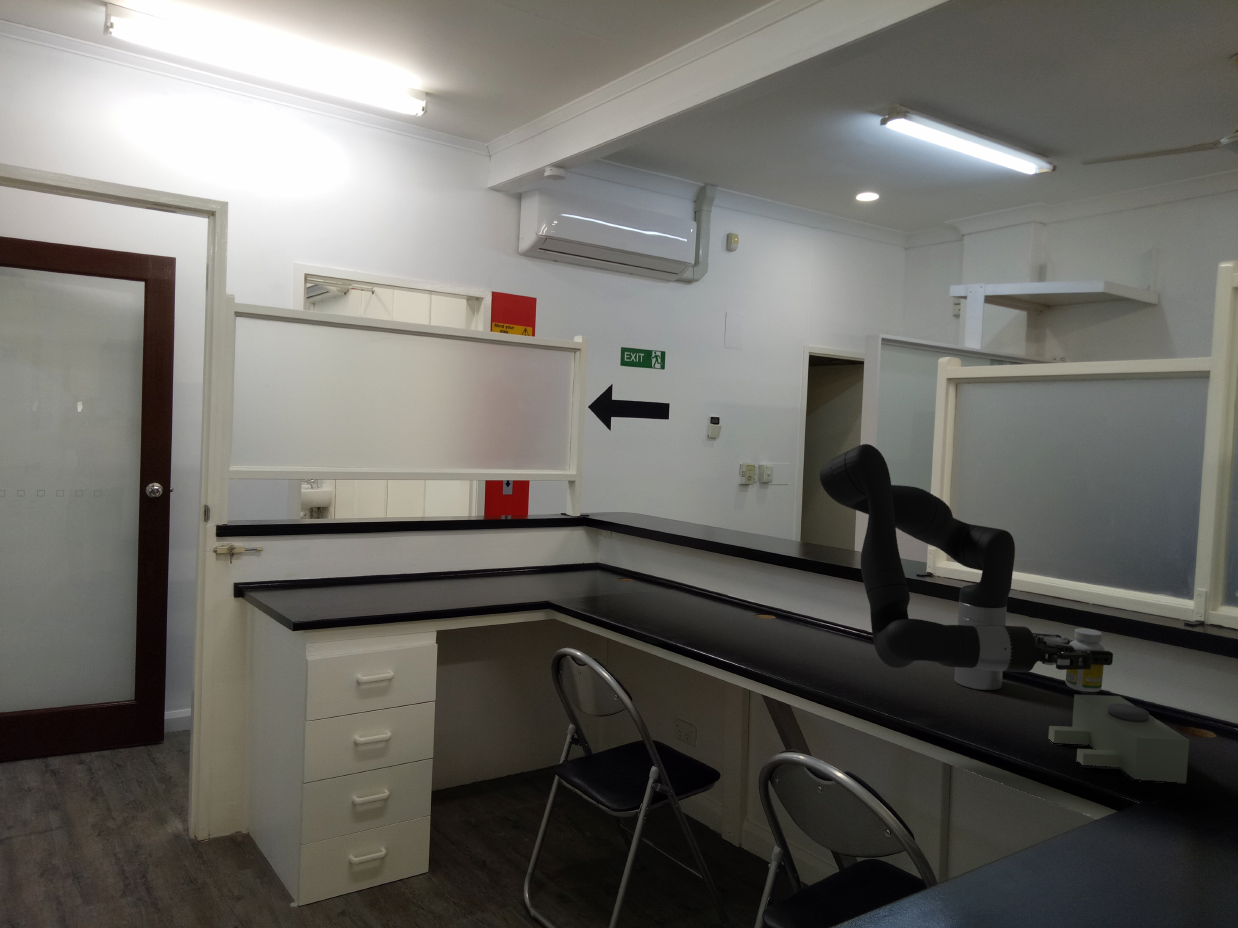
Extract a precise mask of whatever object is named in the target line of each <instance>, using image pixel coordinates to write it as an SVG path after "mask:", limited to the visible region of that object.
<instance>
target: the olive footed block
mask: <svg viewBox="0 0 1238 928" xmlns="http://www.w3.org/2000/svg"><path fill="white" fill-rule="evenodd" d="M1071 725H1072V726H1060V725H1049V727H1048V738H1047V739H1050V740H1051V741H1052V742H1054V743H1066V744H1068V743H1069V744H1086V745H1088V744H1089V745H1090V746H1091V747H1093V748H1094V749H1092V748H1091V747H1090V746H1089V747H1090V748H1077V750H1076V762H1077V761H1078V762H1080V763H1081V764H1082V765H1093V766H1095V765H1096V766H1108V767H1109V766H1111V767H1121V768H1122V769H1123V770H1124V771H1125V772H1127V774H1129V775H1130V776H1131V777H1133V778H1134V779H1141V780H1155V781H1167V782H1177V783H1176V784H1187V777H1188V776H1187V774H1188V764H1189V750H1190V739H1189V738H1187V737H1185V736H1183V734H1180V733H1179V732H1178V731H1176V730H1175V729H1172V728H1171V727H1170V726H1168V725H1166V724H1165V723H1163V722H1162V721H1160V720H1159V719H1156V718H1155V717H1154V716H1152V715H1150V712H1149V711H1148V710H1146V709H1145V708H1142V707H1139V706H1136V705H1134V704H1133V703H1131V702H1130V701H1128V700H1126V699H1125V698H1123V697H1122V696H1120V695H1102V694H1101V695H1099V694H1097V695H1094V694H1074V697H1073V711H1072V724H1071ZM1051 741H1050V742H1051ZM1052 742H1051V743H1052ZM1086 745H1085V746H1086ZM1095 749H1096V750H1095Z"/></svg>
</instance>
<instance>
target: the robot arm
mask: <svg viewBox="0 0 1238 928" xmlns="http://www.w3.org/2000/svg"><path fill="white" fill-rule="evenodd" d="M819 471H820V472H819V482H820V484H821V485H820V486H822V489H823V490H824V492H825V493H826V494H827V495H828V496H829V497H830V498H831V499H832V500H833V501H835V502H837V503H838V504H839V505H841V506H844V507H846V508H849V509H851V510H855V511H858V512H860V513H862V514H865V515H868V518H867V519H868V520H867V526H866V530H865V536H864V539H863V543H862V548H861V552H860V553H861V554H860V570H861V571H860V572H861V577H862V581H863V584H864V590H865V592H866V597H867V600H868V603H869V610H870V624H871V635H872V636H871V637H872V641H873V646H874V648H875V651H876V652H875V653H877V656H878V657H879V659H880V660H881V661H882V662H883V663H884V664H885V665H887V666H889V667H891V668H893V669H897V668H898V669H901V668H906V667H907V666H909V665H911V664H913V663H914V662H917V661H924V662H936V663H939V664H940V665H941V666H945V667H948V668H954V681H955V682H956V683H957V684H959V685H960V686H963V687H966V688H970V689H974V690H981V691H994V690H995V691H997V690H1000V689H1001V688H1002V687H1003V686H1002V685H1003V672H1016V673H1029V672H1031V671H1032V670H1033V669H1034V666H1035V665H1036V664H1037V663H1038V662H1040V663H1041V664H1043V665H1046V666H1054V665H1055V669H1056V670H1058V671H1059V670H1060V671H1062V670H1063V671H1064V670H1065V671H1066V670H1075V669H1087V670H1088V669H1091V664H1093V665H1104V666H1112V665H1113V661H1114V658H1113V657H1114V653H1113V652H1111V651H1109V650H1105V651H1100V650H1087V649H1078V648H1074V646H1073V645H1070V642H1072V641H1073V640H1074V639H1070V638H1068V637H1062V636H1061V635H1060V634H1049V633H1038V632H1032V630H1031V629H1030V628H1029V627H1027V626H1021V625H1019V626H1018V625H1006V624H1007V609H1008V599H1009V594H1010V593H1011V589H1012V581H1013V574H1014V565H1015V557H1016V545H1015V540H1014V537H1013V535H1012V534H1011V532H1009V531H1008V530H1006V529H1001V528H996V527H992V526H991V527H990V526H983V525H977V524H972V523H971V524H970V523H966V522H964V521H961V520H960V519H957V518H955V517H954V515H953V512H952V509H951V508H950V507H949V505H948V504H947V503H946V502H945V501H944V500H943V499H941V498H939V497H937V496H936V495H934V494H932V493H931V492H930V491H927V490H925V489H923V488H920V487H917V486H910V485H899V484H892V480H891V473H890V470H889V467H888V464H887V462H886V458H885V457H884V455H883V454H882V452H881V451H880V450H879V449H877V447H875V446H874V445H872V444H868V443H865V444H864V443H863V444H860V445H857V446H854V447H853V448H851V449H848V450H847V451H845V452H842V453H841V454H838V455H837V456H835V457H833V458H831V459H829V460H828V461H827V462H826V463H825V464H823V465H822V467H821V469H820V470H819ZM897 529H898V530H899V531H901V532H902V533H904V534H906V535H908V536H910V537H912V538H914V539H916V540H918V541H920V542H922V543H925V544H927V545H929V546H932V547H935V548H937V549H939V550H940V551H942V552H943V553H944V554H945V555H947V556H949V558H951V559H953V561H955V562H956V563H958V564H960V566H963V567H965V568H969V569H970V570H971V569H972V570H977V571H982V572H981V576H980V577H981V578H980V581H979V582H977V583H974V584H969V585H964V586H962V587H961V588H959V589H960V590H959V595H958V614H957V615H958V616H957V619H958V620H957V624H942V623H939V622H936V621H935V622H934V621H930V620H926V619H925V620H924V619H918V618H909V614H908V613H909V611H908V606H909V604H910V599H911V596H910V595H911V594H910V590H909V586H908V583H907V578H906V574H905V570H904V567H903V564H902V559H901V555H900V550H899V545H898V538H897ZM1080 658H1081V661H1080V660H1079V659H1080Z"/></svg>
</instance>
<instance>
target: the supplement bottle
mask: <svg viewBox="0 0 1238 928" xmlns="http://www.w3.org/2000/svg"><path fill="white" fill-rule="evenodd" d="M1102 636H1103V634H1102V632H1100V631H1099V630H1097V629H1091V628H1083V627H1080V628H1075V629H1074V634H1073V637H1074V639H1072V640H1073V641H1072V642H1070V645H1073V646H1074V648H1078V649H1087V650H1100V651H1106V649H1105V648H1104V646H1103V644H1101V642H1102V641H1103V640H1102V639H1103V637H1102ZM1079 660H1080V661H1081V658H1080V659H1079ZM1104 666H1105V665H1093V664H1091V669H1088V670H1087V669H1075V670H1065V684H1066V686H1067V687H1069V688H1071V689H1074V690H1077V691H1080V692H1081V691H1083V692H1089V693H1090V692H1091V693H1097V692H1101V691H1100V690H1101V689H1102V686H1103V676H1104V668H1105V667H1104Z"/></svg>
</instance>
